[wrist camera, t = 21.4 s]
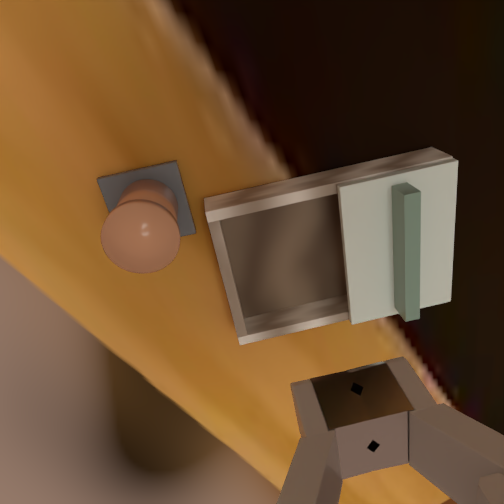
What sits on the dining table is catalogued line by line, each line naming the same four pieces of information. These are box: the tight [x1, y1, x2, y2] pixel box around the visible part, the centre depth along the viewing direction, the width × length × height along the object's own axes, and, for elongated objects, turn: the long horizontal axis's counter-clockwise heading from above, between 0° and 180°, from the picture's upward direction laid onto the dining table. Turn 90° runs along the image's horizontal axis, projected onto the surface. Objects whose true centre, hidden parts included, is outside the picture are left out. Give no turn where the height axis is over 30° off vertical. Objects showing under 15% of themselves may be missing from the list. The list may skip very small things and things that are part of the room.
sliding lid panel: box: [337, 159, 458, 325], centre depth 38 cm, size 10×15×3 cm
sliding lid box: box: [204, 147, 453, 345], centre depth 41 cm, size 22×15×4 cm
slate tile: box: [97, 160, 196, 237], centre depth 38 cm, size 7×7×1 cm
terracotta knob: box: [101, 179, 180, 273], centre depth 34 cm, size 6×6×7 cm
